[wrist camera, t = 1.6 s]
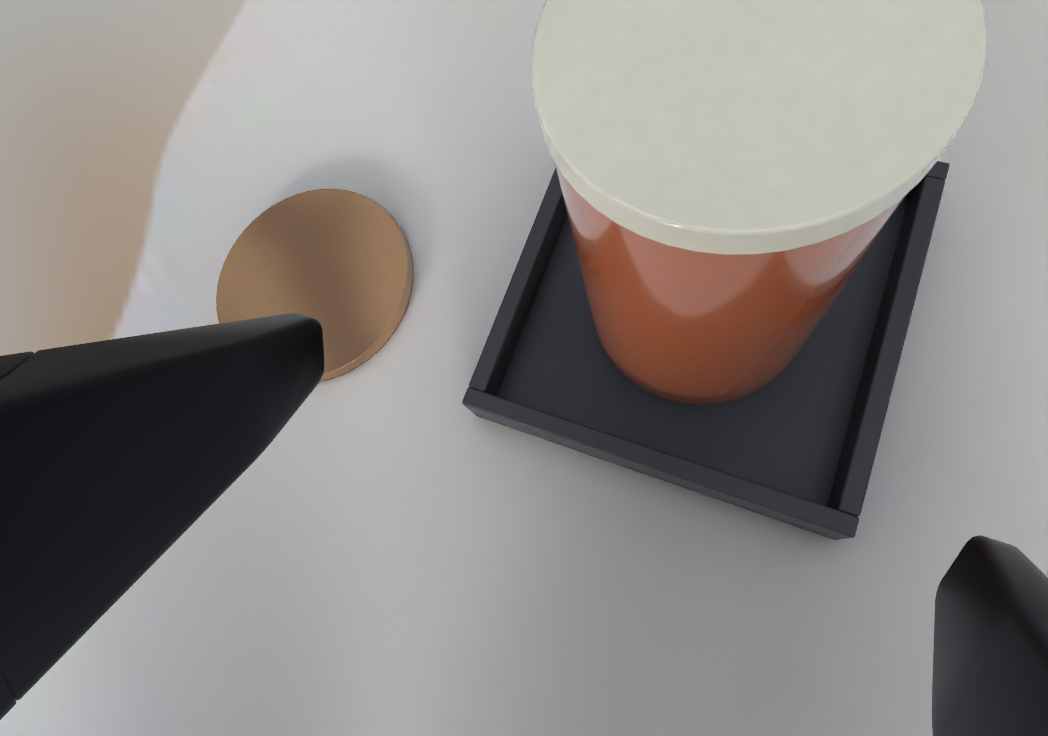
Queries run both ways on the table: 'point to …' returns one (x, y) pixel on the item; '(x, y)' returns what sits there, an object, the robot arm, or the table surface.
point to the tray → (727, 428)
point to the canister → (739, 164)
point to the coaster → (322, 272)
